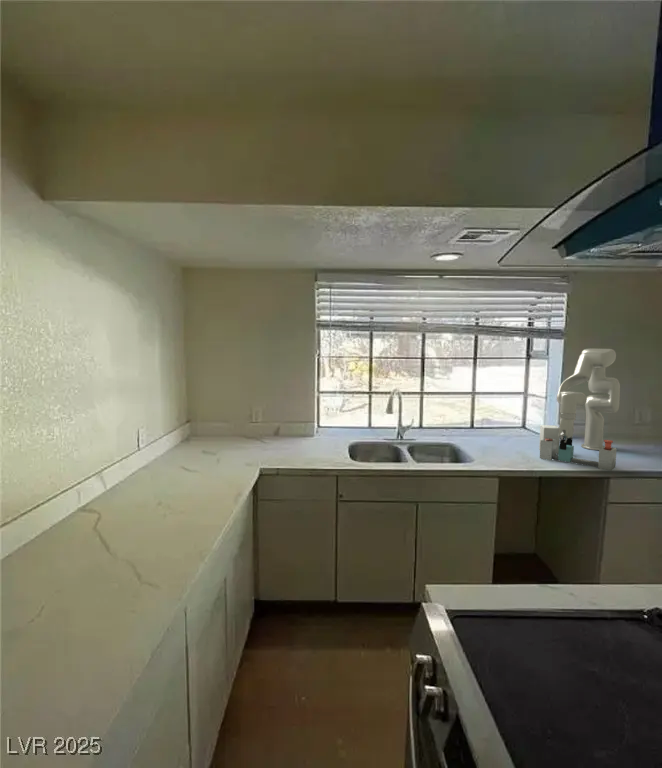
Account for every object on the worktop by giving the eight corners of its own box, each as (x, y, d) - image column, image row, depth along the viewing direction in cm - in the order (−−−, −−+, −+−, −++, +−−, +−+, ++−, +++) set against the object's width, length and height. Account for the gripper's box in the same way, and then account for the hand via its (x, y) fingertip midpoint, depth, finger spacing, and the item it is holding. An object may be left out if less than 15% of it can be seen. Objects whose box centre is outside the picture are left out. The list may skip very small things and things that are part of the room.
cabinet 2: (602, 465, 242) (603, 446, 241) (615, 467, 238) (616, 448, 237) (598, 468, 236) (599, 449, 235) (611, 470, 232) (612, 451, 231)
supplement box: (559, 454, 264) (560, 428, 262) (542, 453, 265) (543, 427, 264) (555, 450, 272) (556, 425, 271) (538, 449, 274) (540, 424, 273)
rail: (554, 458, 255) (554, 454, 255) (600, 466, 240) (601, 462, 240) (552, 459, 253) (552, 455, 253) (599, 467, 238) (599, 463, 237)
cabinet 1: (544, 455, 261) (545, 436, 260) (556, 457, 257) (557, 438, 256) (539, 458, 255) (540, 439, 254) (551, 460, 251) (552, 441, 250)
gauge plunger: (604, 448, 239) (604, 439, 238) (613, 449, 236) (613, 440, 235) (602, 449, 236) (602, 440, 235) (611, 450, 233) (612, 441, 232)
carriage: (561, 458, 254) (561, 444, 253) (573, 460, 250) (573, 445, 249) (558, 460, 250) (558, 445, 249) (570, 462, 246) (570, 447, 245)
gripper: (565, 413, 256) (563, 444, 258) (554, 417, 244) (552, 449, 245) (580, 415, 251) (578, 446, 253) (570, 419, 238) (568, 451, 240)
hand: (565, 448), depth 249 cm, fingers open, 9 cm apart
